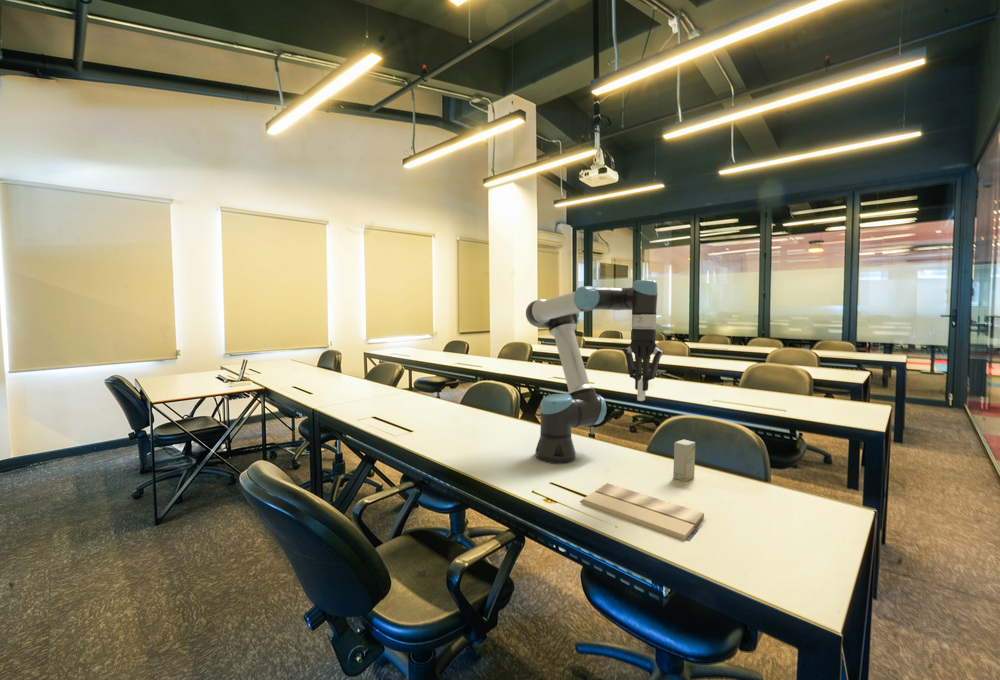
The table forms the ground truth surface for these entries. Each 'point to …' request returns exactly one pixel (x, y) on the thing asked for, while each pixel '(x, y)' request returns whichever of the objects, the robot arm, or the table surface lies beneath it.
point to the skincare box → (684, 460)
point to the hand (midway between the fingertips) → (641, 400)
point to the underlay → (641, 515)
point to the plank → (652, 504)
